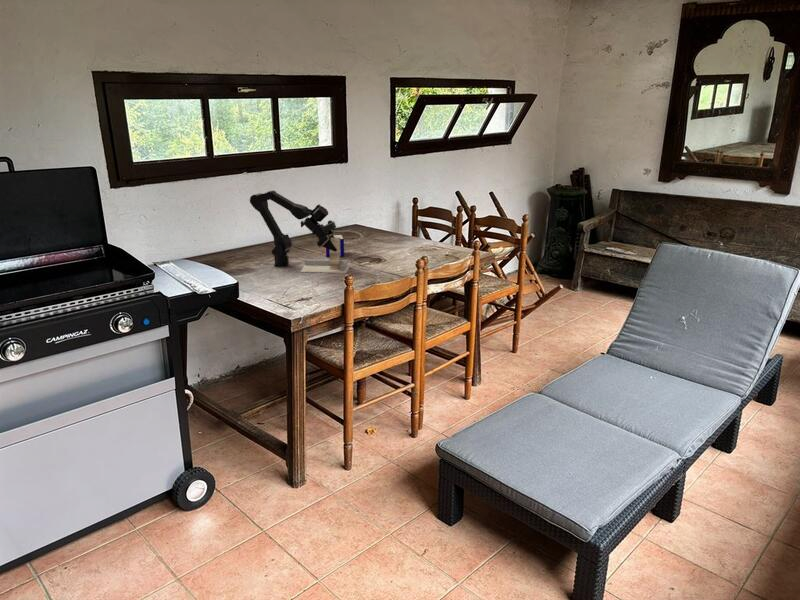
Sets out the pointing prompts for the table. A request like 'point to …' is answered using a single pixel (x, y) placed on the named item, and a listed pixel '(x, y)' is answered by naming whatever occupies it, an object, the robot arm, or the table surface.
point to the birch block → (335, 255)
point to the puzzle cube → (327, 251)
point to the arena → (325, 266)
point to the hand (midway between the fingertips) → (337, 249)
